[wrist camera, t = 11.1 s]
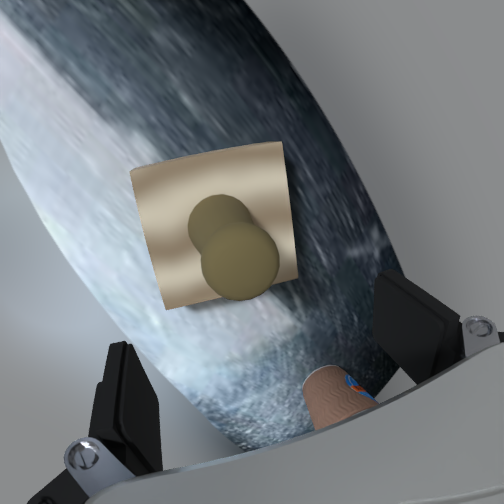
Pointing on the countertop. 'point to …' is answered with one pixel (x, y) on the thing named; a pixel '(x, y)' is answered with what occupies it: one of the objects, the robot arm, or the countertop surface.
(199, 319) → the countertop surface
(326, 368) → the coffee cup
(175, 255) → the birch plinth
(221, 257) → the olive tall waisted piece
